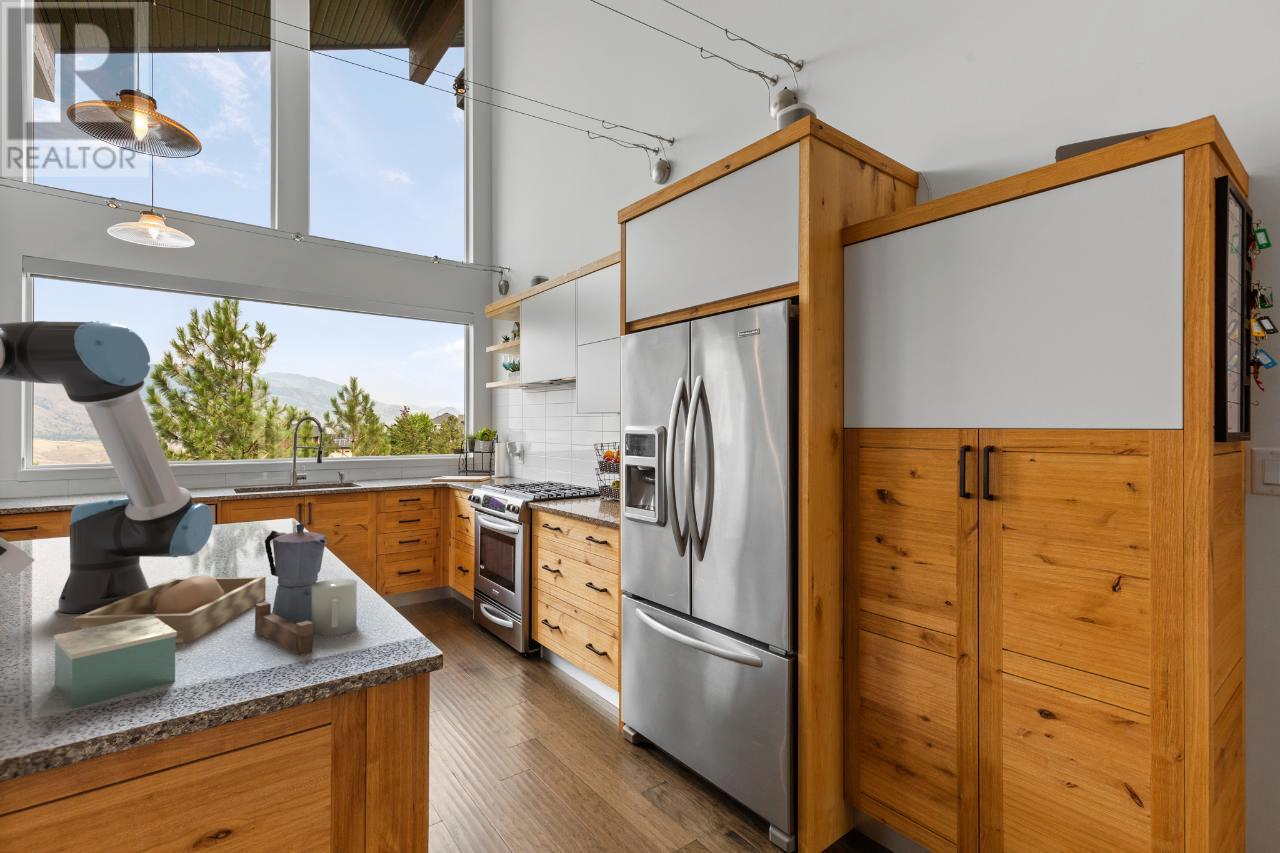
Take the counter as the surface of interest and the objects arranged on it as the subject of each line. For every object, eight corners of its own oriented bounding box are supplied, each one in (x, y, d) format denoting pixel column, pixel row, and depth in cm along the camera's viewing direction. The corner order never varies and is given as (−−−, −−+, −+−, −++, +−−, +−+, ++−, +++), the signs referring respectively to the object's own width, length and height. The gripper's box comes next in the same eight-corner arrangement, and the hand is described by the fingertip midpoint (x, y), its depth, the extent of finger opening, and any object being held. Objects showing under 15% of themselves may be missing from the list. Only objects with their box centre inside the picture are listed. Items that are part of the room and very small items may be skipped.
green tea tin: (53, 687, 93) (53, 635, 93) (153, 662, 103) (153, 615, 103) (70, 711, 86) (71, 654, 86) (176, 682, 96) (176, 631, 96)
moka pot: (309, 631, 119) (310, 529, 119) (242, 625, 122) (243, 525, 122) (342, 616, 128) (343, 521, 128) (279, 611, 131) (280, 518, 131)
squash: (178, 635, 116) (164, 590, 115) (137, 631, 126) (123, 590, 125) (239, 609, 125) (226, 567, 124) (195, 607, 135) (183, 569, 135)
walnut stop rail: (255, 630, 119) (255, 604, 119) (266, 628, 120) (266, 601, 120) (300, 655, 107) (301, 625, 107) (312, 652, 108) (312, 623, 108)
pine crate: (174, 600, 138) (174, 578, 138) (265, 598, 140) (265, 576, 140) (73, 645, 110) (74, 618, 110) (190, 642, 112) (190, 615, 112)
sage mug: (311, 626, 122) (312, 581, 122) (355, 620, 126) (356, 577, 126) (310, 642, 113) (310, 594, 113) (357, 636, 117) (358, 589, 117)
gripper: (-204, 470, 77) (-15, 575, 90) (-215, 480, 65) (3, 599, 78) (-136, 428, 81) (35, 535, 94) (-135, 430, 70) (60, 551, 83)
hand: (20, 564), depth 86 cm, fingers open, 6 cm apart
